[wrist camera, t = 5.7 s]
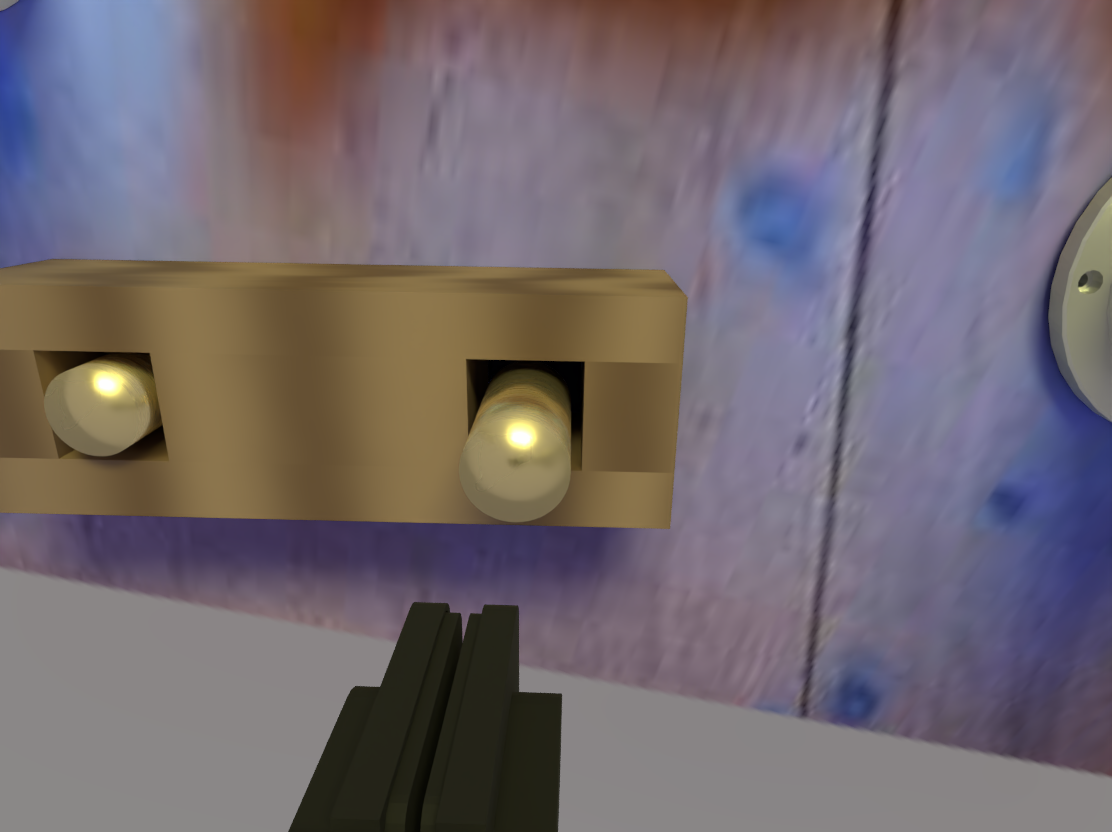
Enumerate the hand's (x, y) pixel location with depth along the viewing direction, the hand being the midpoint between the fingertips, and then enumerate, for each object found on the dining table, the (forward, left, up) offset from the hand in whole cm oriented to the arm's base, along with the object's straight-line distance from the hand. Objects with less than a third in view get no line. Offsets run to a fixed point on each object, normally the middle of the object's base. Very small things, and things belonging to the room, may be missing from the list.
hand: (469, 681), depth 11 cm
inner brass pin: (0, 0, -14) cm, 14 cm away
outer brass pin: (+14, 0, -18) cm, 23 cm away
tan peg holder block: (+7, 0, -19) cm, 20 cm away
